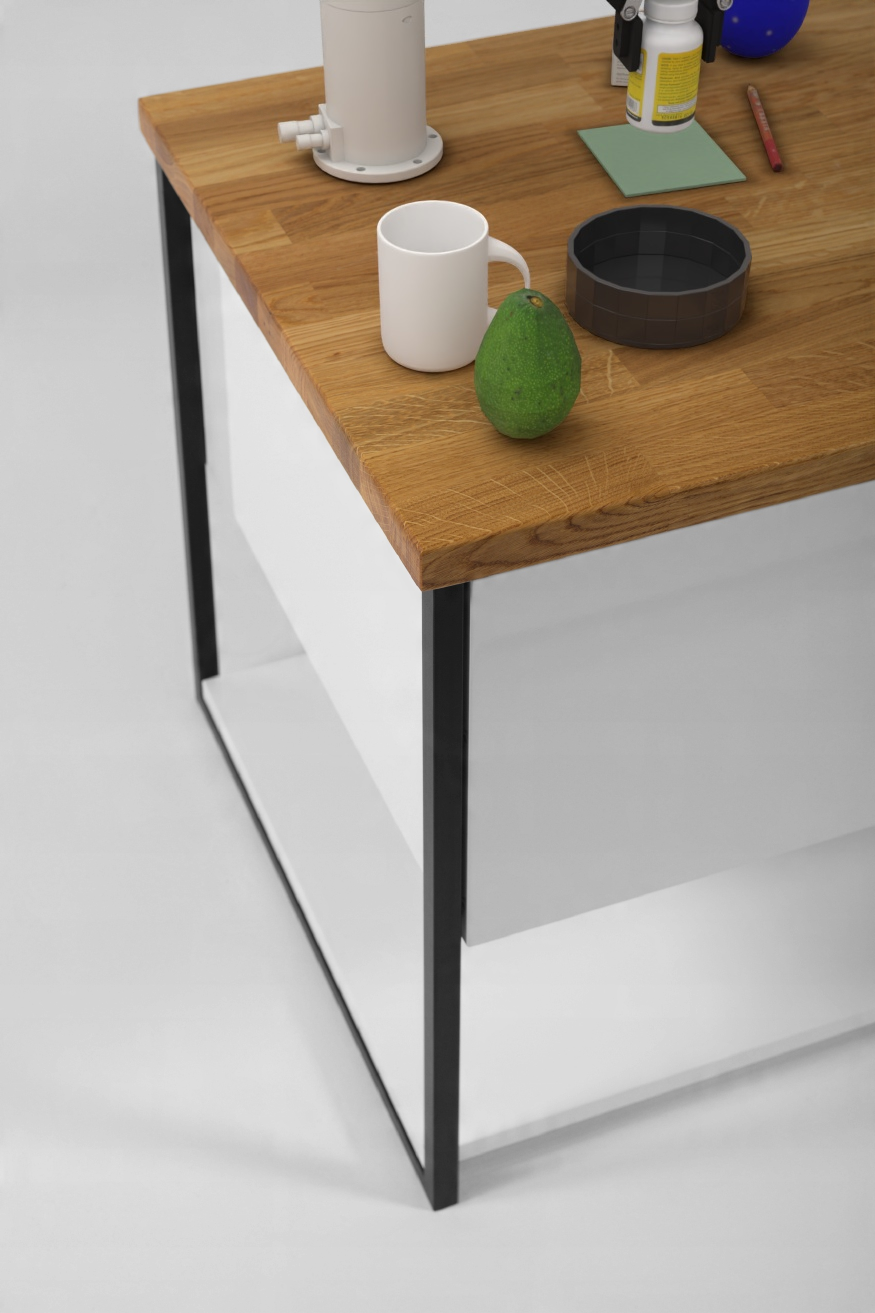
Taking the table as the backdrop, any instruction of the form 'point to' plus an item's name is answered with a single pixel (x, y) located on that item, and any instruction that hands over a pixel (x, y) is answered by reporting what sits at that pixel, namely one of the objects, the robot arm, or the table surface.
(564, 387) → the avocado
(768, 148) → the pencil
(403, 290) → the mug
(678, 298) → the pan
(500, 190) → the table surface
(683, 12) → the supplement bottle
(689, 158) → the cloth
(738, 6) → the ornament
